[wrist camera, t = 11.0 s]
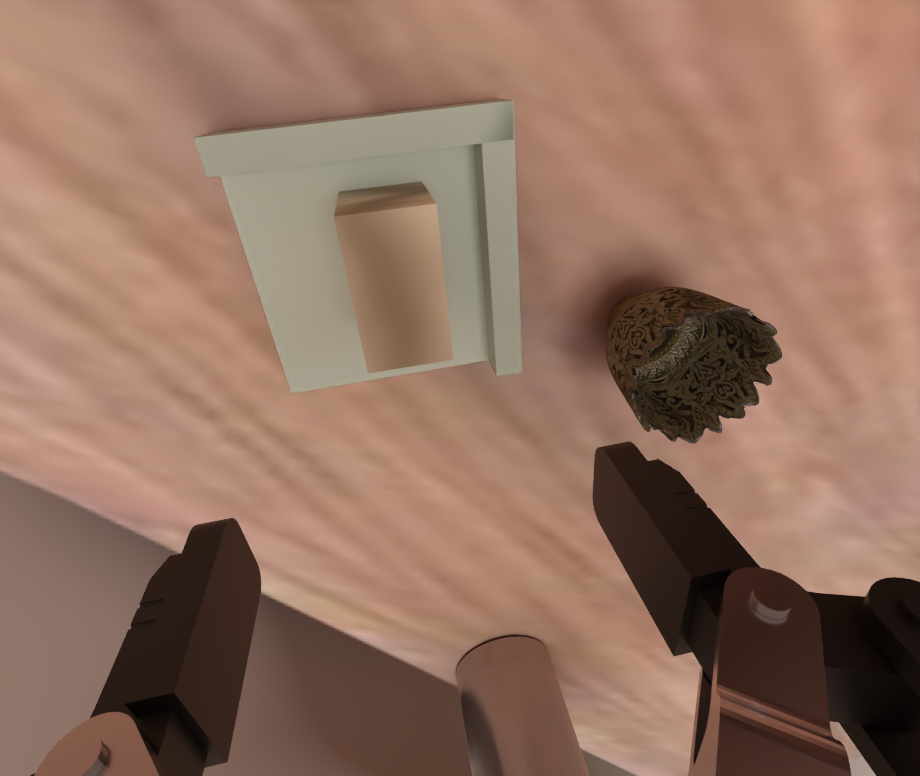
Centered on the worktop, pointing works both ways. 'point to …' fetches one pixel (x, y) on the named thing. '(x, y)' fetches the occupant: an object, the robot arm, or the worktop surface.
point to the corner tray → (317, 244)
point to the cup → (688, 359)
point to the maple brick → (395, 274)
